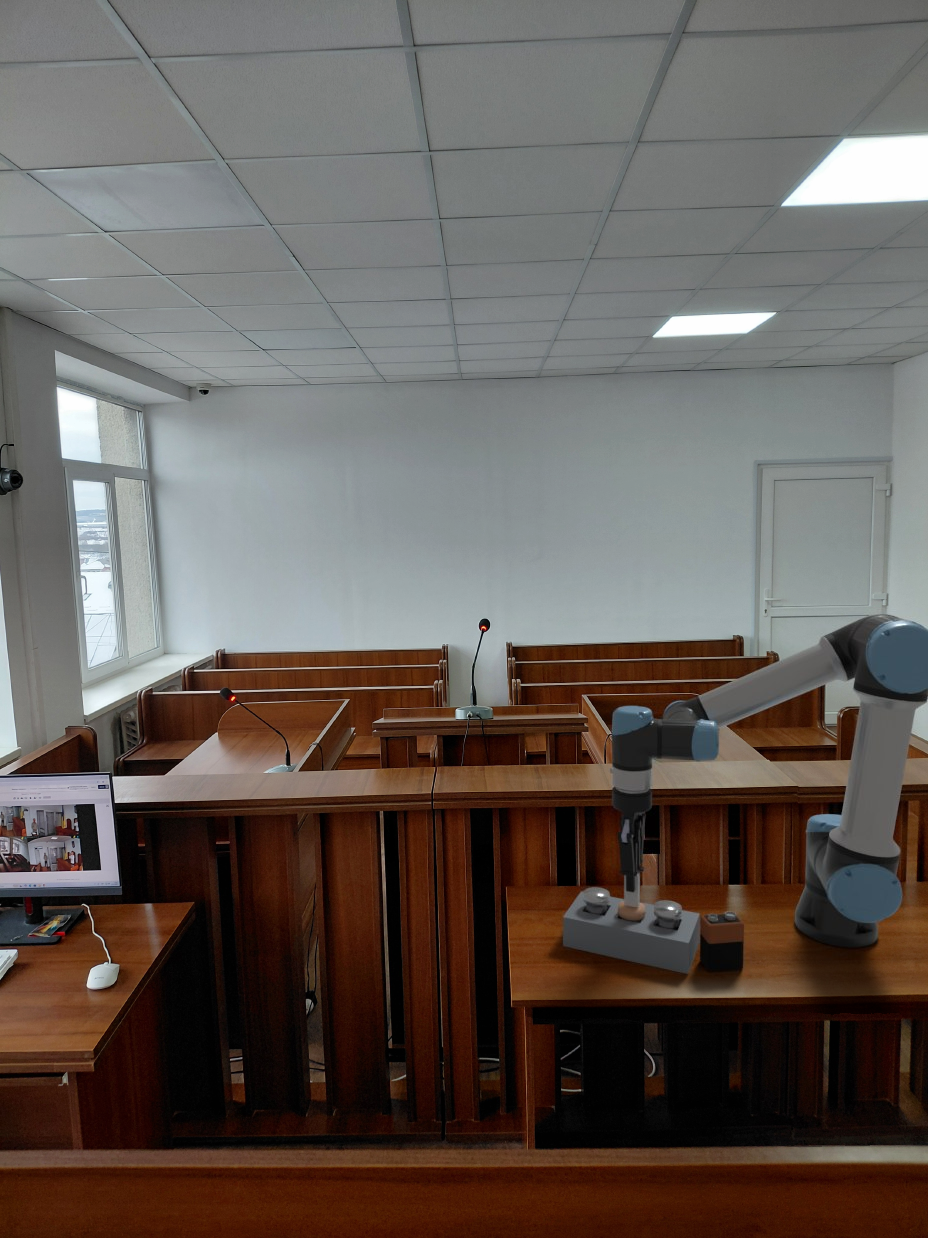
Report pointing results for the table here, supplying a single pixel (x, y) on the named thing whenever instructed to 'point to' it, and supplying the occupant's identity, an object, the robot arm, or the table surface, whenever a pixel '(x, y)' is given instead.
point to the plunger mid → (631, 912)
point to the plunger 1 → (596, 900)
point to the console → (632, 936)
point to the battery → (721, 942)
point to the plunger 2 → (667, 914)
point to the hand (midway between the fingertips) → (631, 904)
